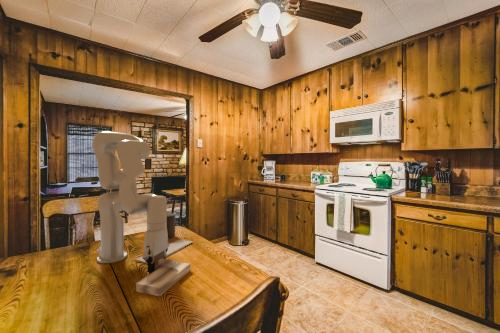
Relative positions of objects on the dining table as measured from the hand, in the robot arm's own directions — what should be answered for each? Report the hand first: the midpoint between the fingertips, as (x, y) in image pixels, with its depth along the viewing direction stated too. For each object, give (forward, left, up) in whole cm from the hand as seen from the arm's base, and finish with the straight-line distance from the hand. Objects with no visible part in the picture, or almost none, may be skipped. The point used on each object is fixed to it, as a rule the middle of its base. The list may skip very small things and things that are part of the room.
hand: (156, 268), depth 98 cm
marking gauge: (+4, 0, -2) cm, 4 cm away
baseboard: (-12, +22, -3) cm, 25 cm away
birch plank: (+7, -4, -2) cm, 8 cm away
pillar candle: (-25, +41, -2) cm, 48 cm away
